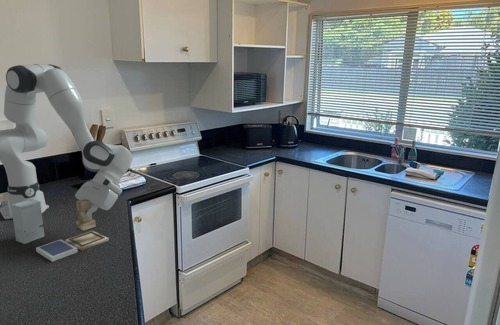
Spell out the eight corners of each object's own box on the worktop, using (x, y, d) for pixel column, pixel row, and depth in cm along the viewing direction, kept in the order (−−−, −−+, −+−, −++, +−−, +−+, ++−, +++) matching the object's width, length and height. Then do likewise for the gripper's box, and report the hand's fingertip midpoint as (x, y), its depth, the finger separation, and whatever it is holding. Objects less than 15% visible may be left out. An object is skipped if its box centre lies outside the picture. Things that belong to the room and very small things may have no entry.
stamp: (76, 228, 141) (73, 201, 138) (89, 224, 145) (86, 197, 142) (83, 232, 138) (80, 203, 135) (96, 227, 142) (93, 200, 139)
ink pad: (36, 251, 134) (35, 247, 133) (61, 242, 141) (60, 238, 140) (52, 261, 127) (51, 257, 126) (77, 252, 134) (77, 247, 133)
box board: (65, 241, 142) (65, 238, 142) (92, 232, 150) (92, 229, 150) (81, 250, 135) (81, 247, 134) (109, 240, 143) (108, 237, 143)
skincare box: (24, 244, 139) (18, 207, 136) (15, 241, 142) (9, 204, 139) (45, 236, 146) (41, 200, 143) (36, 233, 149) (31, 198, 146)
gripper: (84, 174, 149) (62, 204, 143) (113, 183, 136) (91, 216, 131) (95, 182, 153) (75, 212, 148) (125, 192, 141) (103, 224, 136)
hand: (83, 214), depth 139 cm, fingers closed on stamp, 3 cm apart
